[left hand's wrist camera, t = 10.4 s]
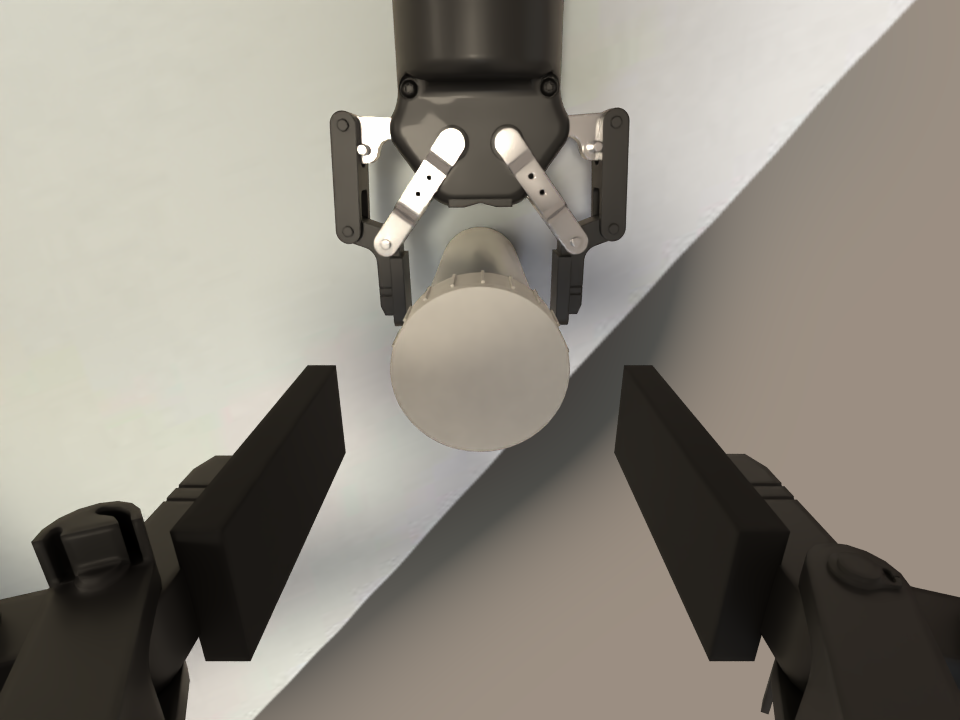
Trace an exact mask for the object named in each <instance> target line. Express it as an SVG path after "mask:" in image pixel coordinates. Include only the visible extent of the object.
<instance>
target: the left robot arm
mask: <svg viewBox="0 0 960 720" xmlns="http://www.w3.org/2000/svg"><path fill="white" fill-rule="evenodd" d="M345 453H346V451H345V442H344V434H343V425H342V416H341V407H340V398H339V389H338V380H337V371H336V365H308V366H307V367H306V368H305V369H304V370H303V372H302V373H301V374H300V375H299V376H298V378H297V379H296V380H295V381H294V382H293V384H292V385H291V386H290V387H289V388H288V390H287V391H286V392H285V393H284V394H283V396H282V397H281V398H280V399H279V400H278V402H277V403H276V404H275V405H274V406H273V408H272V409H271V410H270V411H269V412H268V414H267V415H266V416H265V417H264V418H263V420H262V421H261V422H260V423H259V424H258V426H257V427H256V428H255V429H254V430H253V432H252V433H251V434H250V435H249V436H248V438H247V439H246V440H245V441H244V442H243V444H242V445H241V446H240V447H239V448H238V450H237V451H236V452H235V453H234V454H233V456H214V457H212V458H211V459H209V460H208V461H206V462H204V463H203V464H201V465H199V466H198V467H196V468H195V469H193V470H192V471H191V472H190V474H189V475H188V476H187V477H186V478H185V479H184V480H183V481H182V482H181V483H180V484H179V488H176V489H175V490H174V491H173V492H172V493H171V494H170V495H169V496H168V497H167V501H166V502H163V503H162V504H161V505H160V506H159V507H158V508H157V509H156V510H155V511H154V513H153V514H152V515H151V516H150V517H149V518H148V519H147V520H146V521H145V522H144V520H143V517H142V514H141V510H140V508H138V507H137V506H135V505H134V504H133V503H128V502H120V501H115V502H106V503H98V504H95V505H91V506H88V507H85V508H81V509H78V510H76V511H74V512H72V513H69V514H67V515H65V516H63V517H61V518H59V519H57V520H56V521H54V522H53V523H51V524H50V525H48V526H47V527H45V528H44V529H43V530H41V532H40V533H39V534H38V535H37V536H36V537H35V538H34V540H33V541H32V542H31V543H32V545H33V548H34V550H35V553H36V555H37V558H38V560H39V562H40V565H41V567H42V570H43V572H44V575H45V577H46V580H47V582H48V585H49V589H46V590H42V591H37V592H33V593H28V594H24V595H19V596H15V597H10V598H6V599H1V600H0V720H185V717H186V708H187V699H188V690H189V682H190V679H189V673H188V667H187V664H186V661H185V659H186V658H187V656H188V654H189V653H190V651H191V649H192V647H193V646H194V644H195V642H196V641H197V639H198V637H199V639H200V643H201V646H202V650H203V653H204V657H205V661H251V659H252V657H253V654H254V652H255V650H256V648H257V646H258V643H259V641H260V639H261V637H262V635H263V633H264V630H265V628H266V626H267V624H268V622H269V619H270V617H271V615H272V613H273V611H274V608H275V606H276V604H277V602H278V600H279V598H280V595H281V593H282V591H283V589H284V587H285V584H286V582H287V580H288V578H289V576H290V573H291V571H292V569H293V567H294V565H295V562H296V560H297V558H298V556H299V554H300V552H301V549H302V547H303V545H304V543H305V541H306V538H307V536H308V534H309V532H310V530H311V527H312V525H313V523H314V521H315V519H316V517H317V514H318V512H319V510H320V508H321V506H322V503H323V501H324V499H325V497H326V495H327V492H328V490H329V488H330V486H331V484H332V481H333V479H334V477H335V475H336V473H337V471H338V468H339V466H340V464H341V462H342V460H343V457H344V455H345ZM614 453H615V455H616V457H617V460H618V462H619V464H620V466H621V468H622V470H623V473H624V475H625V477H626V479H627V481H628V484H629V486H630V488H631V490H632V492H633V495H634V497H635V499H636V501H637V503H638V506H639V508H640V510H641V512H642V514H643V517H644V519H645V521H646V523H647V525H648V527H649V530H650V532H651V534H652V536H653V538H654V540H655V543H656V545H657V547H658V549H659V552H660V554H661V556H662V558H663V560H664V562H665V565H666V567H667V569H668V571H669V573H670V576H671V578H672V580H673V582H674V584H675V586H676V589H677V591H678V593H679V595H680V598H681V600H682V602H683V604H684V606H685V608H686V611H687V613H688V615H689V617H690V619H691V622H692V624H693V626H694V628H695V630H696V633H697V635H698V637H699V639H700V641H701V644H702V646H703V648H704V650H705V652H706V654H707V657H708V659H709V661H755V657H756V653H757V650H758V646H759V643H760V639H761V635H762V636H763V638H764V640H765V641H766V643H767V645H768V646H769V648H770V650H771V652H772V653H773V655H774V657H775V661H774V664H773V667H772V671H771V674H770V677H769V681H768V684H767V688H766V691H765V694H764V698H763V702H762V708H761V712H763V713H766V714H769V711H770V708H771V704H772V702H773V706H774V715H775V720H960V597H956V596H951V595H947V594H942V593H938V592H933V591H928V590H924V589H919V588H915V587H911V586H910V585H909V584H908V583H907V581H906V580H905V578H904V577H903V576H902V574H901V573H900V572H898V571H897V570H896V569H894V568H893V567H892V566H891V565H889V564H888V563H887V562H886V561H884V560H882V559H880V558H878V557H876V556H874V555H872V554H870V553H869V552H867V551H864V550H861V549H858V548H855V547H852V546H849V545H844V544H838V543H837V542H836V541H835V540H834V539H833V538H832V537H831V536H830V535H829V534H828V533H827V532H826V531H825V529H824V528H823V527H822V526H821V525H820V524H819V523H818V522H817V521H816V520H815V519H814V518H813V517H812V515H811V514H810V513H809V512H808V511H807V510H806V509H805V508H804V507H803V506H802V505H801V504H800V503H799V501H798V500H794V496H793V495H792V494H791V493H790V492H789V491H788V490H787V489H786V488H785V486H782V485H781V482H780V481H779V480H778V479H777V478H776V477H775V476H774V475H773V474H772V472H771V471H770V470H769V469H768V468H767V467H765V466H764V465H762V464H760V463H759V462H757V461H755V460H754V459H752V458H751V457H749V456H747V455H746V454H726V453H725V452H724V451H723V450H722V448H721V447H720V446H719V445H718V444H717V442H716V441H715V440H714V439H713V438H712V436H711V435H710V434H709V433H708V432H707V431H706V429H705V428H704V427H703V426H702V424H701V423H700V422H699V421H698V420H697V418H696V417H695V416H694V415H693V414H692V412H691V411H690V410H689V409H688V408H687V407H686V405H685V404H684V403H683V402H682V400H681V399H680V398H679V397H678V396H677V394H676V393H675V392H674V391H673V390H672V388H671V387H670V386H669V385H668V384H667V382H666V381H665V380H664V379H663V378H662V376H661V375H660V374H659V373H658V372H657V370H656V369H655V368H654V367H653V366H652V365H624V371H623V380H622V389H621V398H620V407H619V416H618V425H617V434H616V442H615V451H614Z"/></svg>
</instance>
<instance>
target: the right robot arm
mask: <svg viewBox="0 0 960 720" xmlns="http://www.w3.org/2000/svg"><path fill="white" fill-rule="evenodd" d="M392 3H393V19H394V35H395V50H396V66H397V82H398V98H397V104H396V107H395V110H394V112H393V115H392V117H391V118H385V117H365V116H358V115H355V114H352V113H349V112H346V111H337V112H335V113H334V114H333V115H332V117H331V119H330V136H331V153H332V171H333V188H334V205H335V222H336V234H337V236H338V238H339V239H340V240H341V241H342V242H344V243H346V244H352V243H353V244H356V245H359V246H362V247H365V248H367V249H369V250H370V251H372V252H373V253H374V255H375V257H376V259H377V265H378V277H379V287H380V300H381V307H382V309H383V311H384V313H385V315H394V323H395V326H403V324H404V321H403V319H404V317H405V315H406V313H407V311H408V309H409V307H410V306H412V299H411V283H410V267H409V252H408V251H404V242H405V240H406V239H407V237H408V236H409V234H410V233H411V231H412V230H413V228H414V227H415V225H416V224H417V222H418V221H419V219H420V218H421V216H422V215H423V214H424V212H425V211H426V209H427V208H428V206H429V205H430V203H431V202H432V200H433V199H434V198H435V199H436V200H437V201H439V202H440V203H442V204H444V205H448V206H449V208H454V207H467V206H471V205H474V204H477V203H484V204H487V205H491V206H495V207H512V205H514V204H517V203H519V202H520V201H522V200H523V199H525V198H526V197H527V198H528V200H529V201H530V202H531V204H532V205H533V207H534V208H535V209H536V211H537V212H538V214H539V215H540V216H541V217H542V219H543V220H544V222H545V223H546V225H547V226H548V227H549V229H550V230H551V232H552V233H553V234H554V236H555V237H556V239H557V250H552V276H551V301H550V311H551V310H553V312H554V314H555V316H556V318H557V320H558V322H559V324H560V325H567V324H568V320H569V314H577V313H578V310H579V308H580V306H581V301H582V285H583V269H584V258H585V255H586V253H587V252H588V250H589V249H590V248H592V247H594V246H596V245H599V244H601V243H604V242H607V241H616V240H619V239H620V238H621V237H622V236H623V235H624V233H625V229H626V204H627V175H628V147H629V116H628V114H627V112H626V111H625V110H624V109H622V108H612V109H608V110H606V111H603V112H602V113H593V114H580V115H567V113H566V111H565V108H564V106H563V103H562V99H561V93H560V80H561V55H562V31H563V6H564V0H392ZM568 137H570V138H572V139H574V140H575V141H576V142H577V144H578V147H579V152H580V155H581V156H582V157H583V158H584V159H586V160H592V187H591V217H589V218H587V219H584V220H581V221H579V222H577V220H576V219H575V217H574V216H573V214H572V213H571V212H570V210H569V209H568V207H567V205H566V203H565V201H564V200H563V198H562V197H561V195H560V194H559V192H558V191H557V189H556V188H555V187H554V185H553V184H552V182H551V181H550V179H549V178H548V176H547V175H546V173H545V171H546V169H547V168H548V166H549V165H550V164H551V162H552V161H553V159H554V158H555V156H556V155H557V154H558V152H559V151H560V149H561V148H562V147H563V145H564V144H565V142H566V140H567V138H568ZM388 140H392V142H393V144H394V145H395V147H396V148H397V149H398V151H399V152H400V153H401V155H402V156H403V157H404V159H405V160H406V161H407V163H408V164H409V166H410V167H411V168H412V170H413V171H414V172H415V175H414V177H413V178H412V180H411V182H410V183H409V185H408V186H407V188H406V189H405V191H404V192H403V194H402V195H401V197H400V199H399V200H398V202H397V203H396V205H395V207H394V209H393V211H392V212H391V214H390V216H389V217H388V219H387V220H386V222H385V223H384V224H382V223H379V222H377V221H374V220H371V219H370V203H369V173H368V163H374V162H376V161H377V160H378V159H379V157H380V154H381V148H382V146H383V144H384V143H385V142H386V141H388Z"/></svg>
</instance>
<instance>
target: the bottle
mask: <svg viewBox="0 0 960 720" xmlns="http://www.w3.org/2000/svg"><path fill="white" fill-rule="evenodd" d="M481 270H484V272H485V273H494V274H499V275H503V276H506V277H509V276H512V277H513V279H514V280H516V281H518V282H520V283H522V284H524V285H525V286H527V287H528V288H530V287H529V284H528V282H527V279H526V277H525V274H524V271H523V269H522V266H521V264H520V261H519V258H518V256H517V253H516V251H515V249H514V247H513V245H512V243H511V242H510V241H509V240H508V239H507V238H506V237H505V236H504V235H503V234H501V233H500V232H498V231H496V230H494V229H491V228H486V227H474V228H469V229H466V230H464V231H462V232H460V233H459V234H457V235H456V236H455V237H454V238H453V239H452V240H451V241H450V242H449V244H448V245H447V247H446V249H445V251H444V253H443V256H442V259H441V261H440V264H439V266H438V269H437V272H436V274H435V277H434V279H433V282H432V284H431V288H432V287H433V286H435V285H436V284H438V283H440V282H442V281H444V280H446V279H448V278H451V277H452V276H453V274H456V276H457V275H461V274H466V273H476V272H481Z"/></svg>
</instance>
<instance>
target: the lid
mask: <svg viewBox="0 0 960 720" xmlns="http://www.w3.org/2000/svg"><path fill="white" fill-rule="evenodd" d="M403 321H404V324H403V326H402V328H401V330H399V332H398V334H397V336H396V338H395V340H394V342H393V344H392V347H393V351H392V356H391V366H390V374H391V382H392V387H393V390H394V394H395V396H396V399H397V401H398V403H399V405H400V407H401V409H402V410H403V412H404V414H405V415H406V416H407V417H408V419H409V420H410V421H411V422H412V423H413V424H414V425H415V426H416V427H417V428H418V429H419V430H420V431H422V432H423V433H424V434H425V435H427V436H428V437H430V438H432V439H433V440H435V441H437V442H439V443H441V444H444V445H446V446H449V447H452V448H456V449H460V450H465V451H476V452H484V451H494V450H501V449H504V448H508V447H511V446H514V445H516V444H519V443H521V442H523V441H525V440H527V439H528V438H530V437H532V436H533V435H535V434H536V433H537V432H539V431H540V430H541V429H542V428H543V427H544V426H545V425H546V424H547V423H548V422H549V421H550V420H551V419H552V417H553V416H554V415H555V413H556V412H557V410H558V409H559V407H560V405H561V403H562V401H563V399H564V397H565V393H566V390H567V387H568V382H569V375H570V363H569V356H568V352H569V349H568V347H567V345H566V343H565V341H564V338H563V336H562V334H561V332H560V330H559V328H558V326H560V324H559V322H558V320H557V318H556V316H555V314H554V312H553V310H551V311H550V310H549V308H548V307H547V305H546V304H545V303H544V302H543V300H542V299H541V298H540V297H539V296H538V294H537V291H536V290H535V289H534V290H533V291H532V290H531V289H530V288H528V287H527V286H525V285H524V284H522V283H520V282H518V281H516V280H514V279H513V277H512V276H509V277H506V276H503V275H499V274H494V273H485V272H484V270H481V272H476V273H466V274H461V275H457V276H456V274H453V276H452V277H451V278H448V279H446V280H444V281H442V282H440V283H438V284H436V285H435V286H433V287H432V288H431V287H430V286H429V287H428V288H427V291H426V292H425V293H424V294H423V295H422V296H421V297H420V298H419V299H418V300H417V302H416V303H415V304H414V305H413V307H412V306H410V307H409V309H408V311H407V313H406V315H405V317H404V319H403Z"/></svg>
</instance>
